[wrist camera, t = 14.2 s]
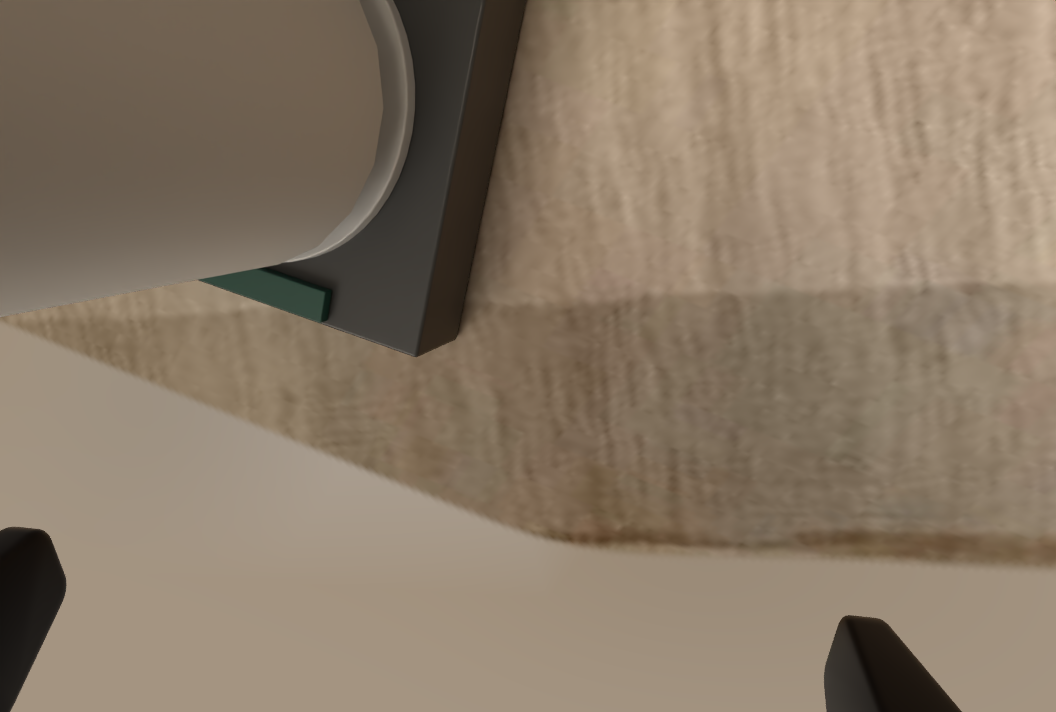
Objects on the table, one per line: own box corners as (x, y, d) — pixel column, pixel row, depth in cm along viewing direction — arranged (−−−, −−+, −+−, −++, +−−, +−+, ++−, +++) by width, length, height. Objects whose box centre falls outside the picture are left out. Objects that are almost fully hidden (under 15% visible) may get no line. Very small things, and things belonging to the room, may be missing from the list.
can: (355, -135, 17) (-511, -630, 6) (440, 227, 18) (-175, 333, 7) (96, -18, 20) (-800, -220, 9) (183, 288, 21) (-529, 429, 10)
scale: (457, 340, 22) (408, 362, 19) (154, 236, 25) (79, 245, 22) (544, -81, 19) (498, -115, 16) (186, -144, 22) (103, -180, 19)
